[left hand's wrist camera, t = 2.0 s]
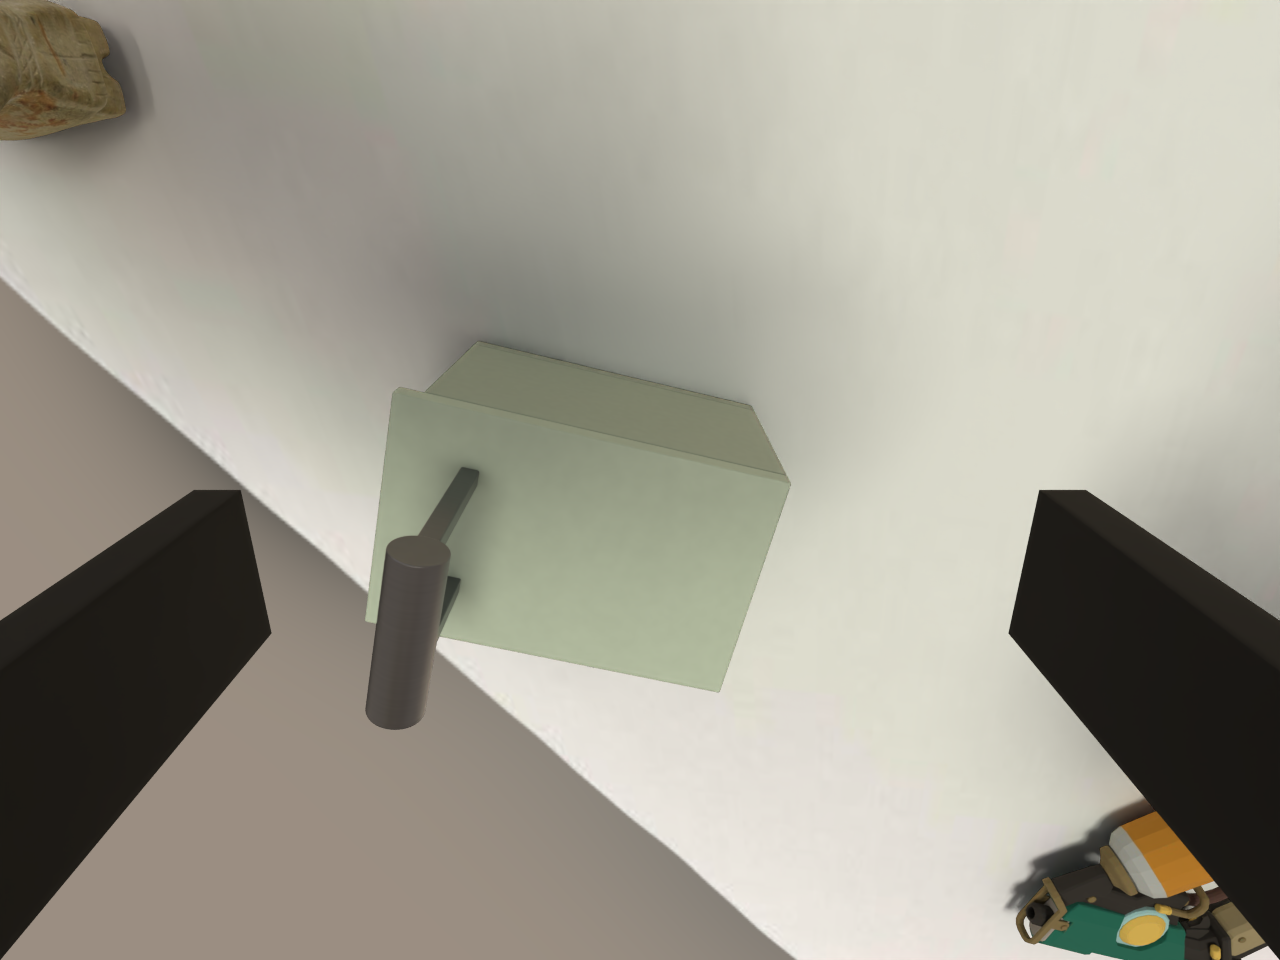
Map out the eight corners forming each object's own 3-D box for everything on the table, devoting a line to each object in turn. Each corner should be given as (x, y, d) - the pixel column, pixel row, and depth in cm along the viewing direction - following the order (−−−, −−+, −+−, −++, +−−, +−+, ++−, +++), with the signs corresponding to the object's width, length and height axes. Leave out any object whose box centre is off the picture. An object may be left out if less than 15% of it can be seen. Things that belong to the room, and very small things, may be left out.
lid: (371, 611, 30) (275, 762, 22) (399, 386, 26) (297, 470, 19) (717, 681, 31) (743, 848, 23) (787, 475, 28) (845, 590, 20)
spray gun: (1325, 861, 49) (1138, 976, 54) (1174, 753, 44) (984, 891, 49) (1385, 923, 45) (1178, 1042, 50) (1227, 813, 40) (1016, 956, 45)
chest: (448, 517, 39) (393, 614, 30) (477, 340, 35) (423, 391, 27) (700, 572, 40) (717, 680, 31) (752, 405, 36) (787, 474, 28)
